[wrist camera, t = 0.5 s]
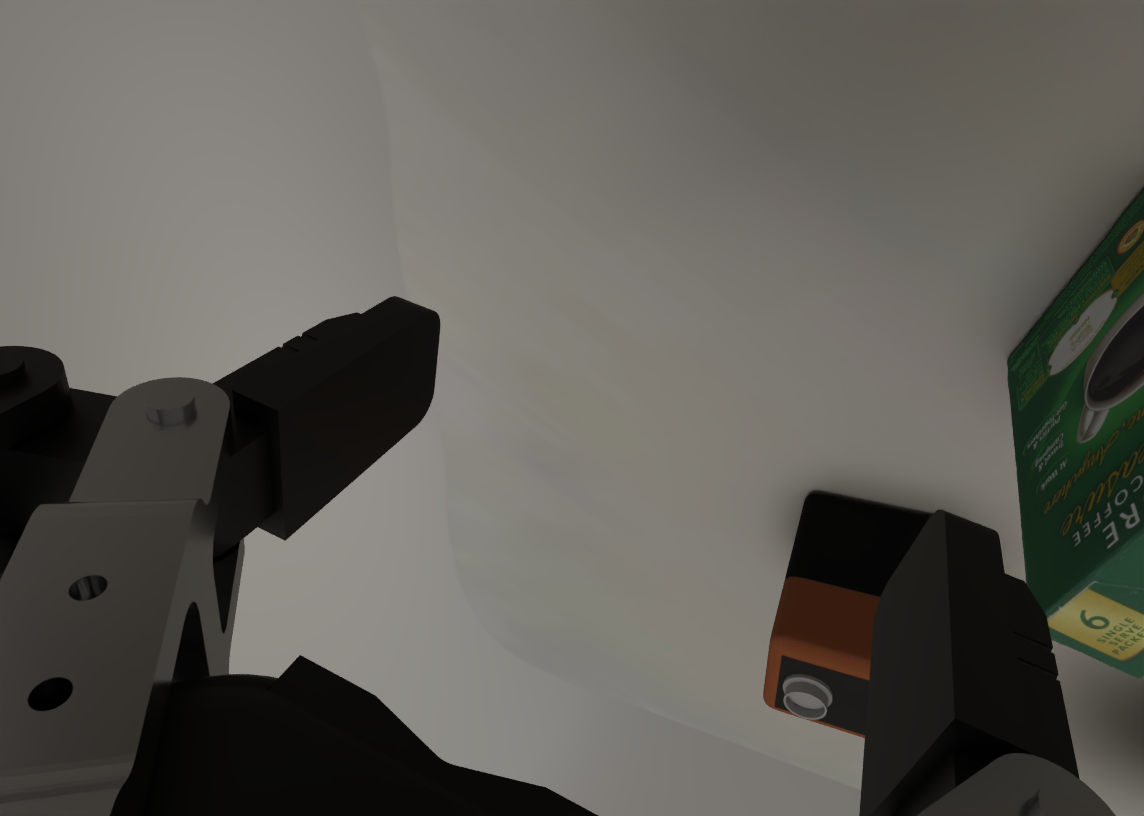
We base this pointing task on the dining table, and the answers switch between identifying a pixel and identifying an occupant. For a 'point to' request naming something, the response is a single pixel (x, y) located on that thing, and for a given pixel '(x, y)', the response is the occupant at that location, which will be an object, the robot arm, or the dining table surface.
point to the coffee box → (1087, 452)
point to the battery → (834, 609)
